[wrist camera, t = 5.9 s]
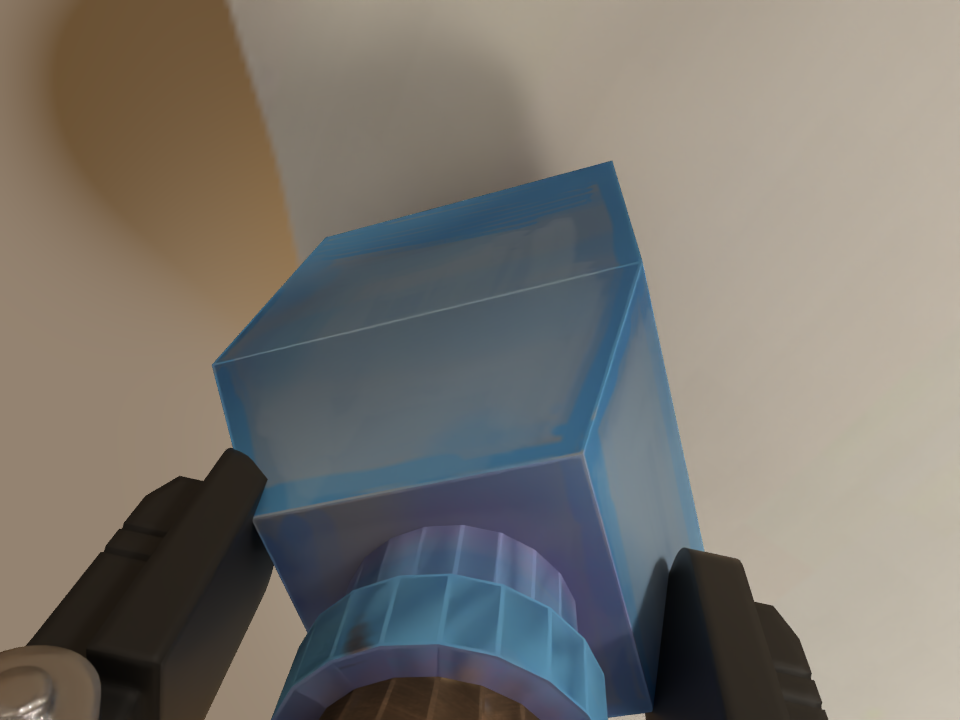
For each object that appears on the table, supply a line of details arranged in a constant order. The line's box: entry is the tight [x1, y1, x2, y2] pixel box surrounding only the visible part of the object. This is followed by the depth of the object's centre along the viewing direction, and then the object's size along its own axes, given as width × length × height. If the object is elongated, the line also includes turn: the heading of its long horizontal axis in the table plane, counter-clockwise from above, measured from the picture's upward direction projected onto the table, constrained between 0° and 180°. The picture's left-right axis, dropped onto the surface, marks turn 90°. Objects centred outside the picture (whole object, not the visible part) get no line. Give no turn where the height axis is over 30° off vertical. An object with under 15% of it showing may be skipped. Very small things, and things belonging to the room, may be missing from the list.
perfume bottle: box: [212, 161, 704, 720], centre depth 12 cm, size 6×6×12 cm
